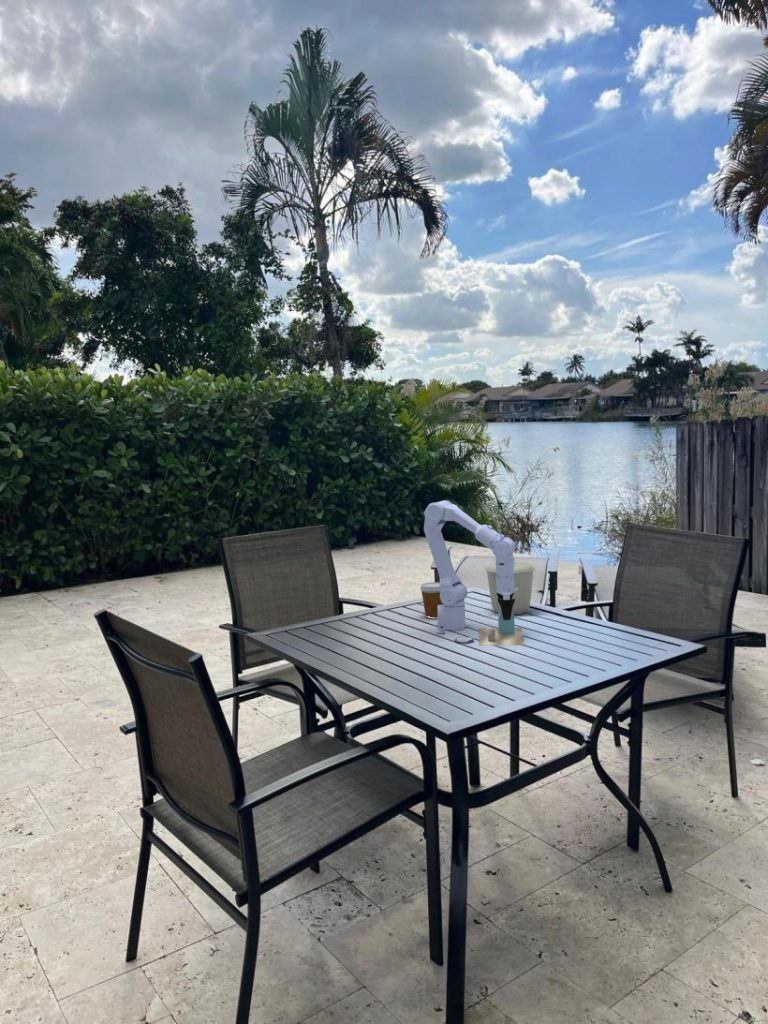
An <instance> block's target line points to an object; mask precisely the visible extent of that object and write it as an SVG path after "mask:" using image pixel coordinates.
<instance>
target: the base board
mask: <svg viewBox="0 0 768 1024" xmlns="http://www.w3.org/2000/svg"><path fill="white" fill-rule="evenodd" d="M478 646H526V642H525V639H524V634H523V630H522V627H515V634H499V628H498V627H487V628H486V627H484V628H483V627H480V628H478Z"/></svg>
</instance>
